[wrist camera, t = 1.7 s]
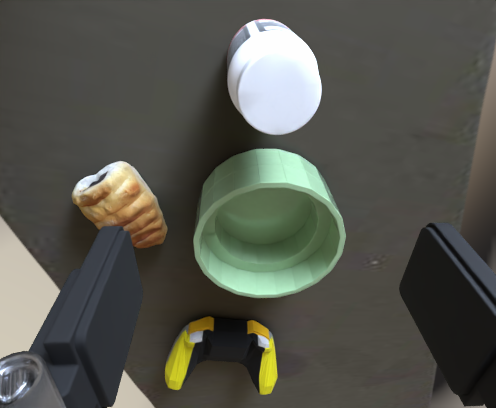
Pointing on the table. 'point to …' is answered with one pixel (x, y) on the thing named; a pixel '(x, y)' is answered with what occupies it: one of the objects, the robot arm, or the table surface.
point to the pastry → (122, 203)
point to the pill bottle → (272, 77)
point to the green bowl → (267, 225)
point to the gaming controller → (223, 350)
